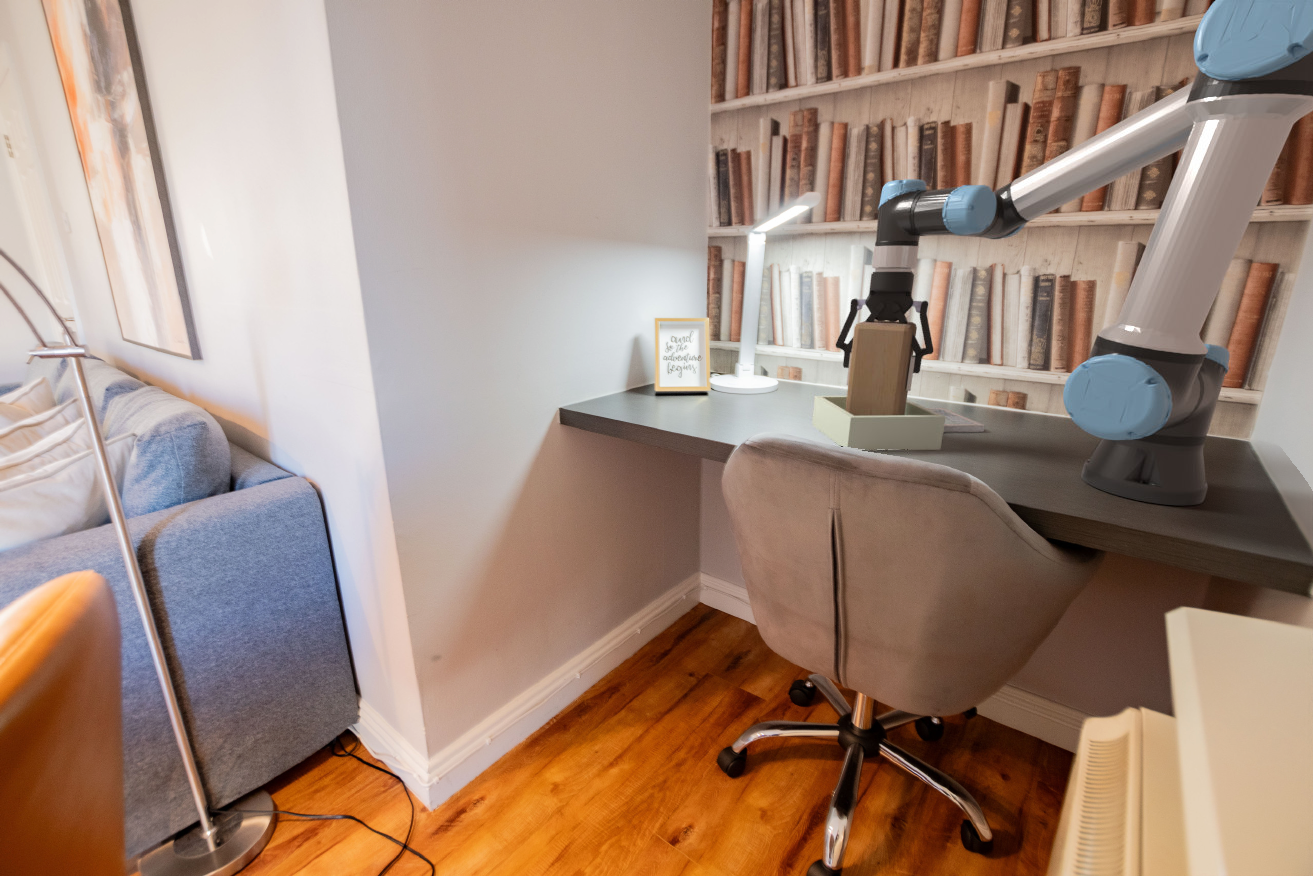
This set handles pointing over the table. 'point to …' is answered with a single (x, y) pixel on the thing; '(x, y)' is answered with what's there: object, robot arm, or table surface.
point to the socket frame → (963, 422)
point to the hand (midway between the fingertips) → (878, 386)
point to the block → (879, 368)
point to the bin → (878, 426)
